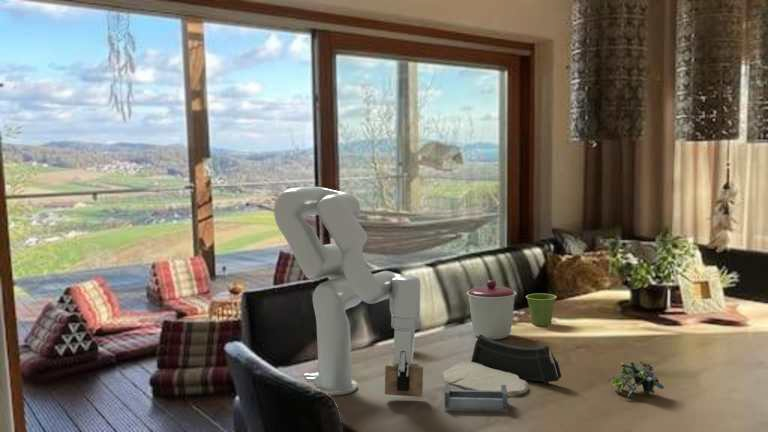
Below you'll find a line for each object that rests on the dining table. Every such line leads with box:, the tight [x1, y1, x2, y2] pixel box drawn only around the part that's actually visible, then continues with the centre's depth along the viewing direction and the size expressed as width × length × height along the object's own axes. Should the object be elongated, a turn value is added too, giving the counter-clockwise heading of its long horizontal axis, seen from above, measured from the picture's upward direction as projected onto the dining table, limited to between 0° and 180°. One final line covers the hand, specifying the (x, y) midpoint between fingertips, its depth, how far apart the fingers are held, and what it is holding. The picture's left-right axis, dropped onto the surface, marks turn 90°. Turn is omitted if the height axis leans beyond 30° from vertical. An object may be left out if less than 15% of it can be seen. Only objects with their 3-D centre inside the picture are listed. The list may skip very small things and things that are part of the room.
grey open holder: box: [444, 383, 509, 413], centre depth 173 cm, size 16×7×5 cm, turn 83°
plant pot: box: [525, 293, 557, 327], centre depth 259 cm, size 12×12×11 cm
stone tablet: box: [442, 361, 529, 397], centre depth 192 cm, size 16×30×2 cm, turn 36°
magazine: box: [470, 335, 562, 386], centre depth 198 cm, size 17×3×30 cm
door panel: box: [384, 361, 424, 398], centre depth 178 cm, size 10×3×8 cm, turn 83°
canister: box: [466, 279, 517, 341], centre depth 242 cm, size 18×18×21 cm
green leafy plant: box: [607, 360, 665, 399], centre depth 178 cm, size 11×11×12 cm
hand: (403, 387), depth 178 cm, fingers closed on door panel, 3 cm apart
